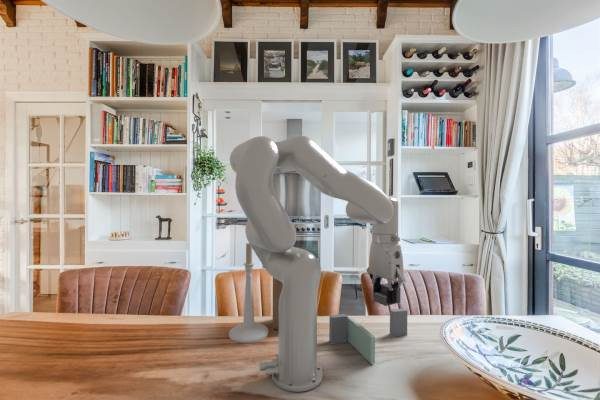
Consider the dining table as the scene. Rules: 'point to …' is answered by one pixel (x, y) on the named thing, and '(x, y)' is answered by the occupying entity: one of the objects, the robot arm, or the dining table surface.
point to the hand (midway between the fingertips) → (384, 299)
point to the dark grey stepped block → (384, 295)
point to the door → (361, 339)
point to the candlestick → (248, 310)
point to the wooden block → (276, 301)
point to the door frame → (340, 325)
